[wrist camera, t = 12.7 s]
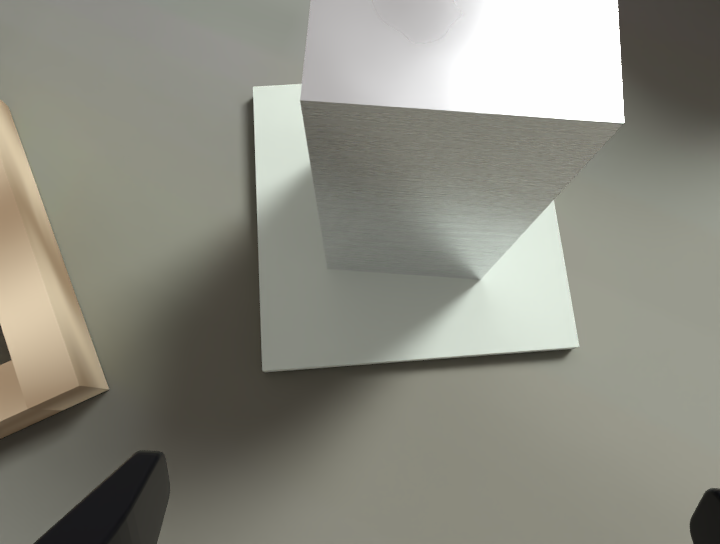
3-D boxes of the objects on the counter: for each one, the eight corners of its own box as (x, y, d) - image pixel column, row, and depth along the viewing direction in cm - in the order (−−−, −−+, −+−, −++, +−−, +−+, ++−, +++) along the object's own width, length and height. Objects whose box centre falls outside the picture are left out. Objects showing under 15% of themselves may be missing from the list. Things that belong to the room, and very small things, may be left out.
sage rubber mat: (573, 348, 18) (579, 346, 18) (264, 372, 18) (262, 370, 18) (526, 78, 21) (530, 70, 20) (255, 94, 21) (253, 86, 20)
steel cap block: (480, 279, 18) (624, 123, 9) (327, 268, 18) (300, 100, 9) (482, 153, 19) (610, -109, 10) (338, 143, 20) (325, -129, 10)
